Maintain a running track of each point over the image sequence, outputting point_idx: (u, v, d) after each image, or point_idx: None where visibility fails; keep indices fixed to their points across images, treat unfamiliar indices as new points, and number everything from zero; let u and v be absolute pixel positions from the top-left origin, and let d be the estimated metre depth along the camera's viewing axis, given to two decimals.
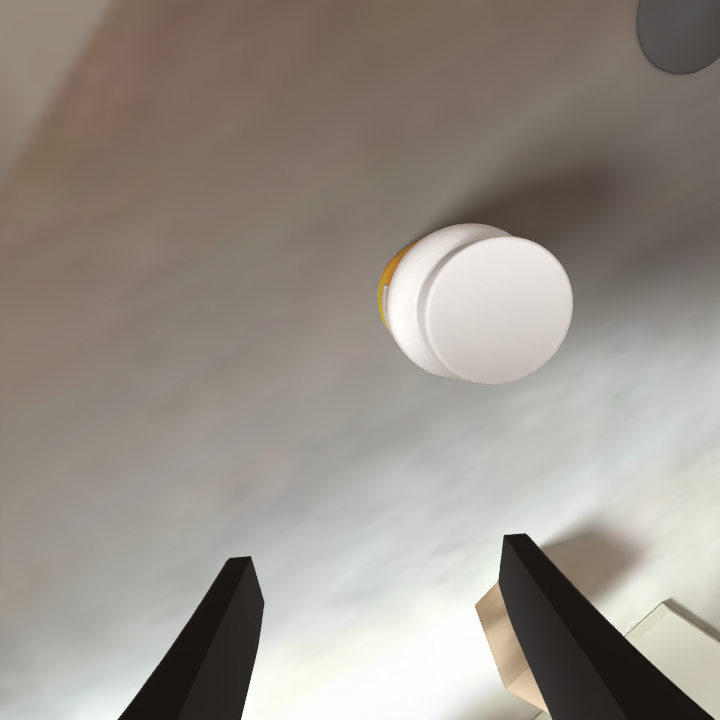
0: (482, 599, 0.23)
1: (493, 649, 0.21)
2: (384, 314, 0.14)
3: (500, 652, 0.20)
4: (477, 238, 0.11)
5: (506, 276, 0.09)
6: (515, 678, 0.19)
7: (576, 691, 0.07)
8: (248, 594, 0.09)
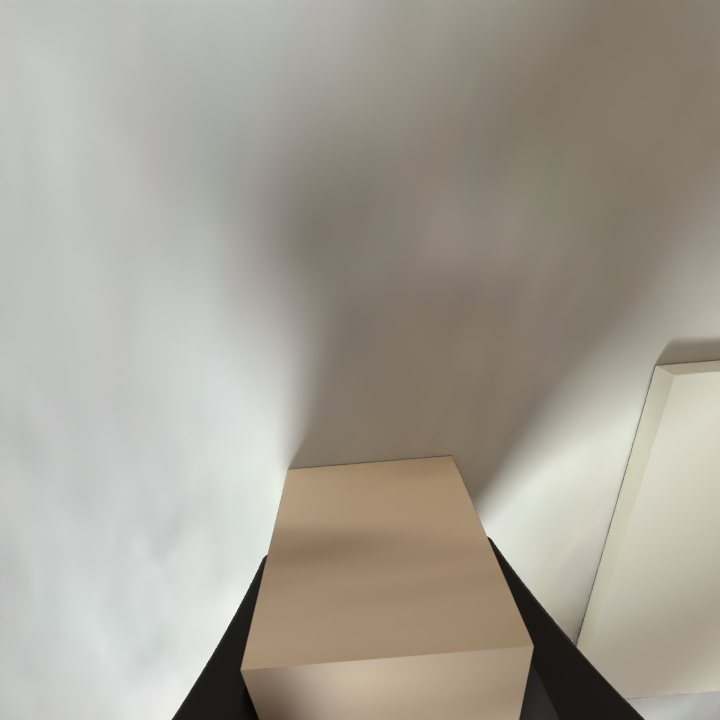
0: None
1: None
2: None
3: None
4: None
5: None
6: None
7: (524, 695, 0.07)
8: None
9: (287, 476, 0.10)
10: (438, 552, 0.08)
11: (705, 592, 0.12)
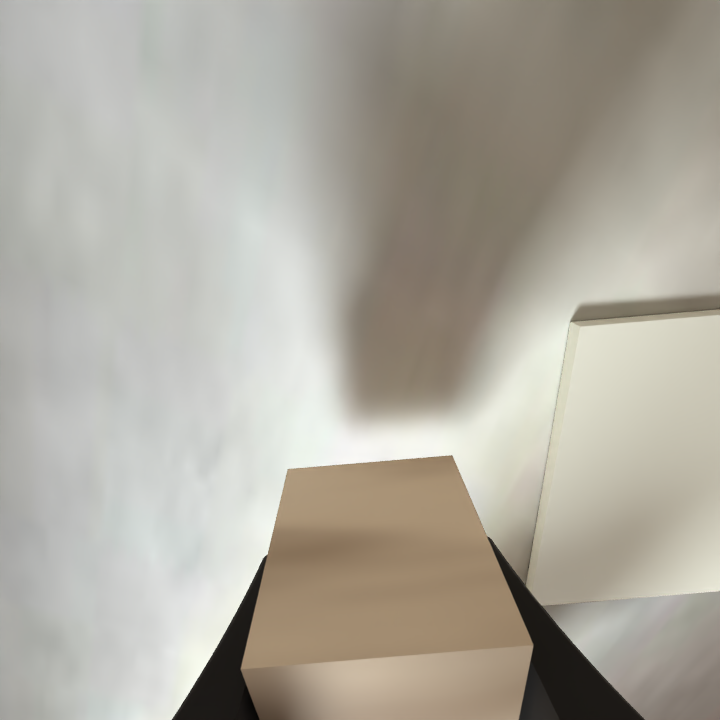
0: None
1: None
2: None
3: None
4: None
5: None
6: None
7: (524, 696, 0.07)
8: None
9: (287, 476, 0.10)
10: (438, 551, 0.08)
11: (624, 505, 0.16)
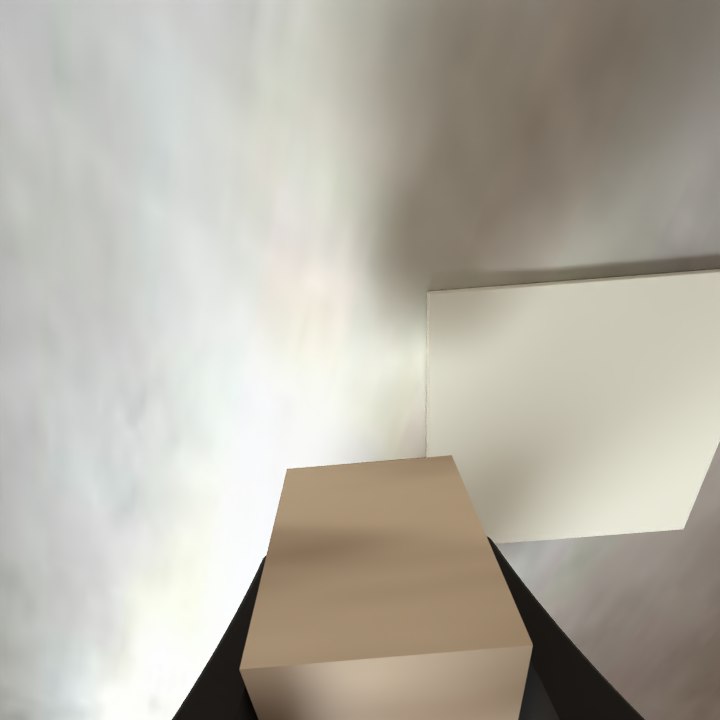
0: None
1: None
2: None
3: None
4: None
5: None
6: None
7: (524, 696, 0.07)
8: None
9: (286, 475, 0.10)
10: (437, 551, 0.08)
11: (494, 453, 0.19)
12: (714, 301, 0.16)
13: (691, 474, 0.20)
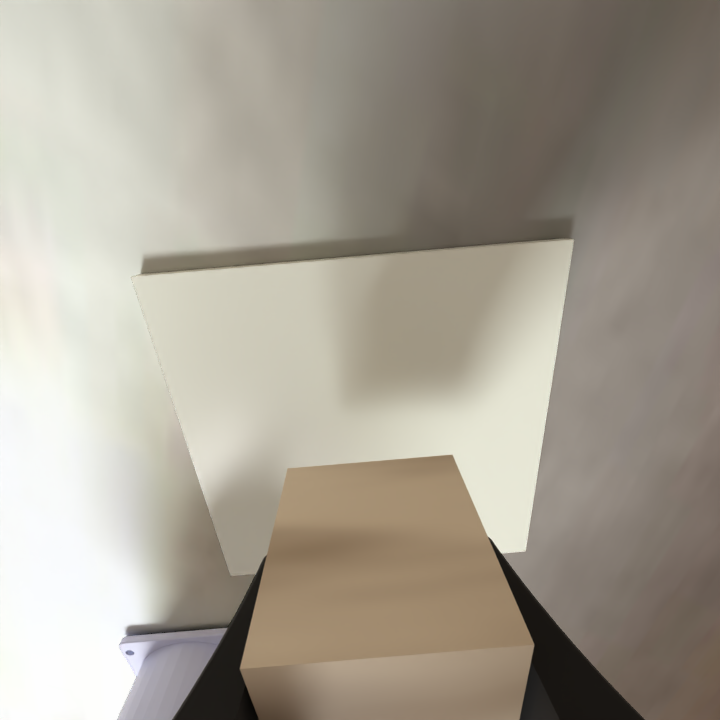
0: None
1: None
2: None
3: None
4: None
5: None
6: None
7: (524, 696, 0.07)
8: None
9: (287, 475, 0.10)
10: (438, 550, 0.08)
11: (274, 467, 0.16)
12: (489, 283, 0.13)
13: (517, 489, 0.17)
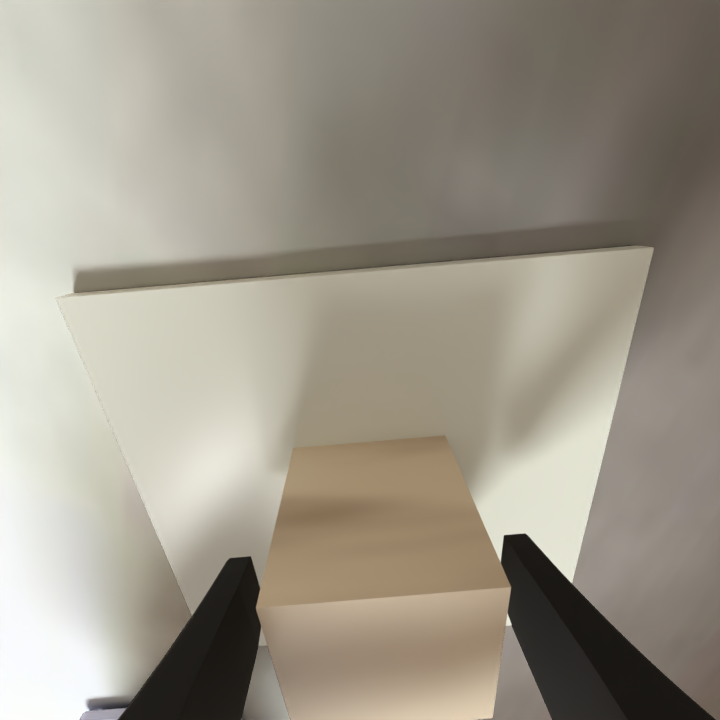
0: None
1: None
2: None
3: None
4: None
5: None
6: (289, 713, 0.08)
7: (577, 691, 0.07)
8: (248, 594, 0.09)
9: (293, 453, 0.11)
10: (430, 515, 0.08)
11: (256, 530, 0.13)
12: (537, 306, 0.10)
13: (558, 553, 0.14)
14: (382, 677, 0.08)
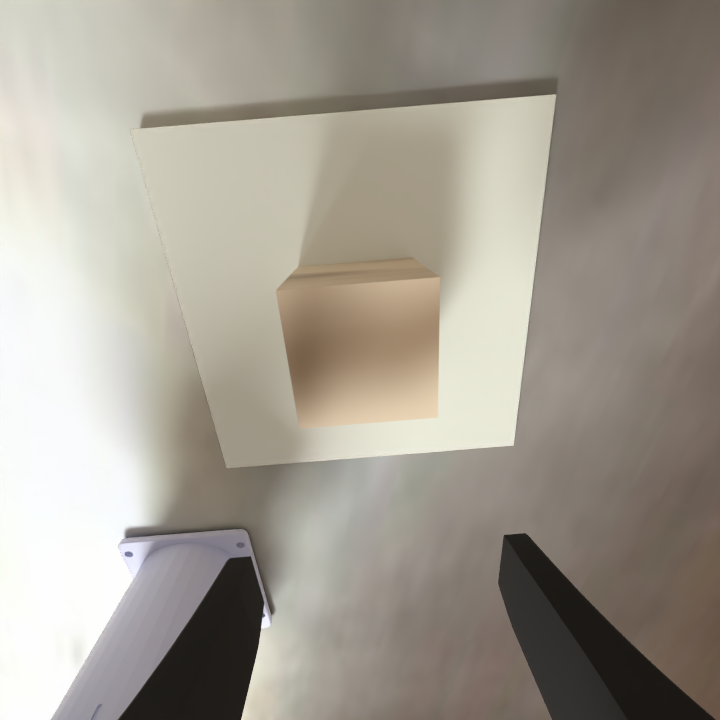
0: None
1: None
2: None
3: None
4: None
5: None
6: None
7: (576, 691, 0.07)
8: (248, 594, 0.09)
9: (297, 267, 0.15)
10: (394, 270, 0.12)
11: (268, 346, 0.16)
12: (475, 142, 0.13)
13: (505, 375, 0.17)
14: (359, 368, 0.12)
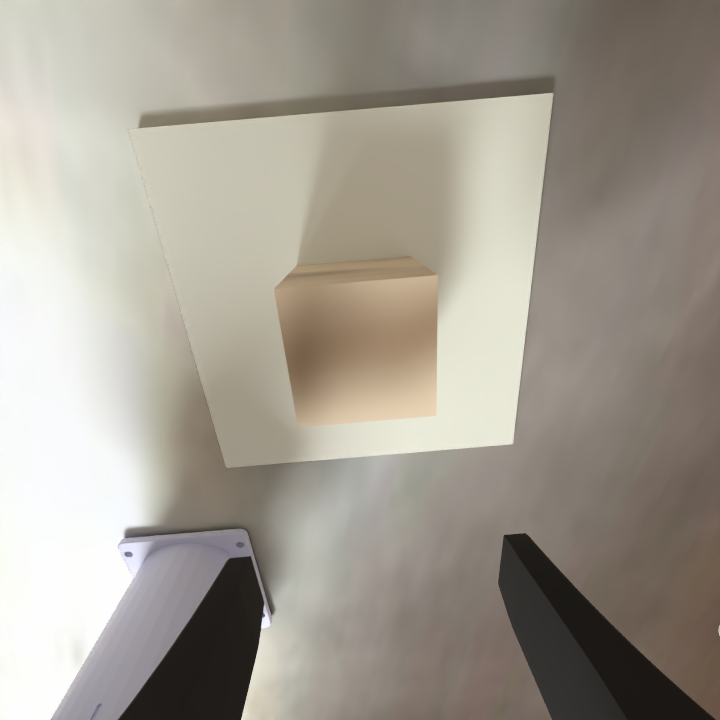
0: None
1: None
2: None
3: None
4: None
5: None
6: (294, 405, 0.12)
7: (576, 692, 0.07)
8: (248, 594, 0.09)
9: (296, 266, 0.15)
10: (392, 269, 0.12)
11: (267, 345, 0.16)
12: (473, 141, 0.13)
13: (504, 373, 0.17)
14: (358, 366, 0.12)
